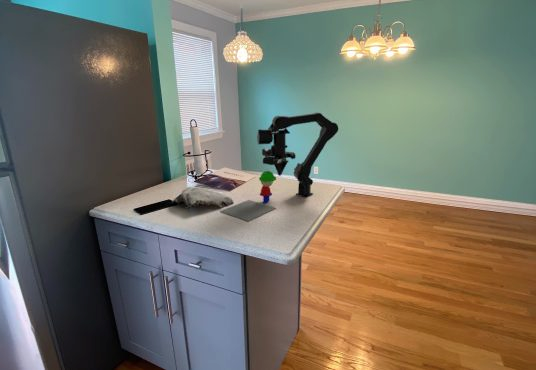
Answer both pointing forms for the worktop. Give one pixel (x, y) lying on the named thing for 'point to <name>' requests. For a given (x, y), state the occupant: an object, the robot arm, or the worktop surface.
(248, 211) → the mat
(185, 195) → the stone fragment
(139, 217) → the worktop surface
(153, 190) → the worktop surface
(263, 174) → the toy
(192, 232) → the worktop surface
